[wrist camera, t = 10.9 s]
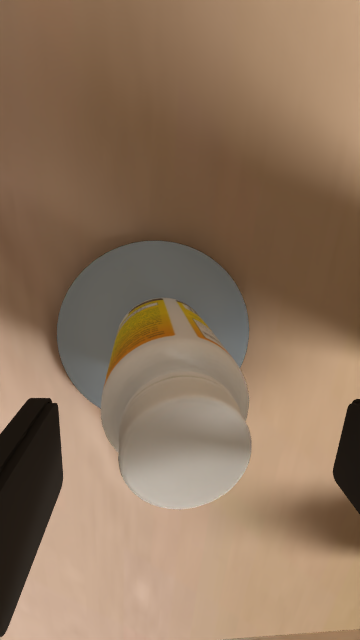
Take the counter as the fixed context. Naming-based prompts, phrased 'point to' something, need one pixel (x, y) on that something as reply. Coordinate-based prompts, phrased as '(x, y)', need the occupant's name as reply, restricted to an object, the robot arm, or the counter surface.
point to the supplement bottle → (175, 407)
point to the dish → (134, 288)
